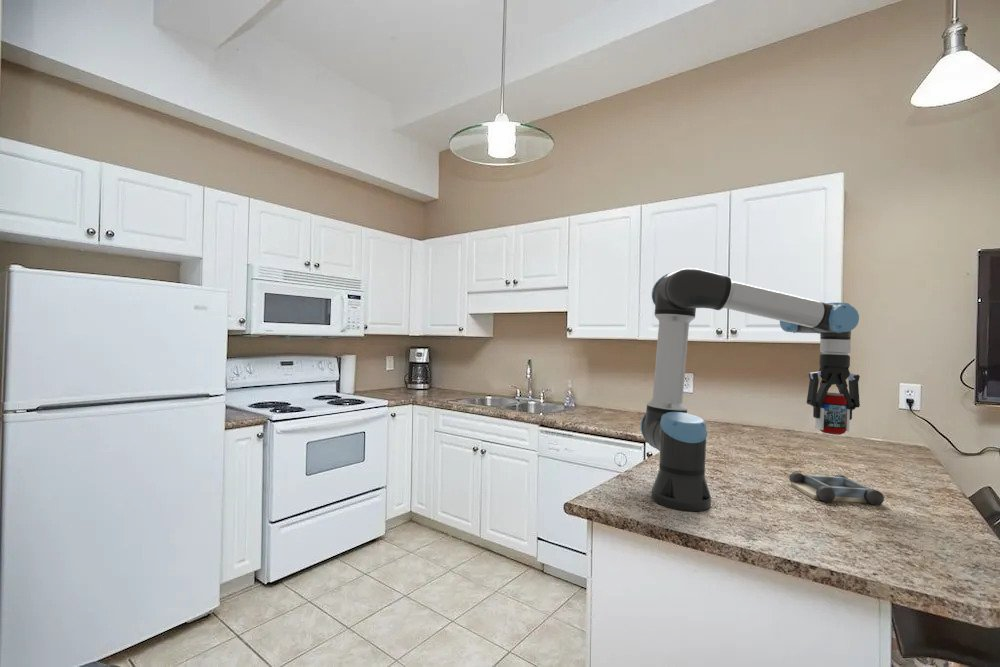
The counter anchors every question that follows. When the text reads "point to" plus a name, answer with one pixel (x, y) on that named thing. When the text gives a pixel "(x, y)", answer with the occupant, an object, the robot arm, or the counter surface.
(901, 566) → the counter surface
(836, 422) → the beverage can
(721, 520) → the counter surface
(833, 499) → the chassis
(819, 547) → the counter surface
